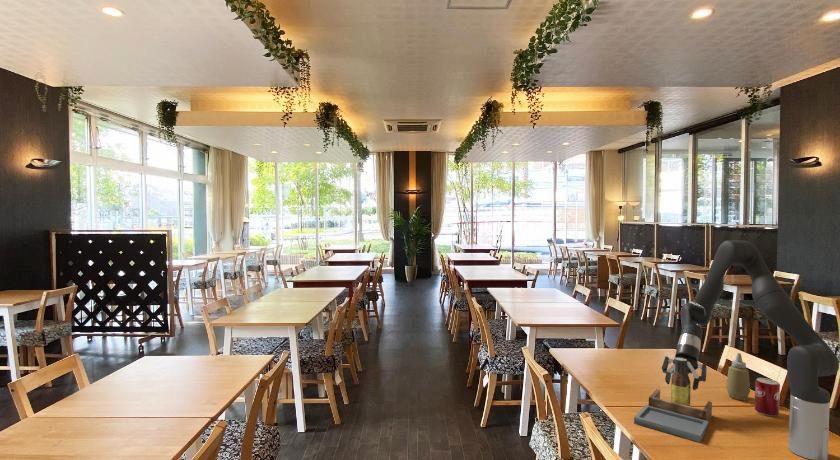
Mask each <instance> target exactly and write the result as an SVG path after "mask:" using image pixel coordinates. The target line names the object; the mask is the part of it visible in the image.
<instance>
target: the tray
mask: <svg viewBox="0 0 840 460" xmlns="http://www.w3.org/2000/svg"><path fill="white" fill-rule="evenodd" d="M633 424H635V425H639V426H643V427H646V428H649V429H653V430H655V431H656V430H657V431H660V432H663V433H667V434H669V433H670V435H673V436H675V437H680V438H683V439H687V440H690V441H693V442H697V443H701V442H702V440H703V438H704V436H705V435H706V432H707V430H708V429H709V421H705V420H701V419H698V418H694V417H690V416H686V415H682V414H678V413H675V412H671V411H667V410H663V409H659V408H656V407H652V406H649V404H648V405H647V404H645V405H644V406H643V407H642V408H641V409H640V410H639V412H637V414H636V415H634V416H633Z"/></svg>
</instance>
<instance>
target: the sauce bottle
mask: <svg viewBox="0 0 840 460" xmlns="http://www.w3.org/2000/svg"><path fill="white" fill-rule="evenodd" d="M674 358H675V357H674ZM670 382H671V383H670V402H674V403H678V404H682V405H686V406H690V407H691V385H692V383H691V379H690V377H689V374H688V373H687V359H684V358H675V372H674V373H673V374H672V375H671V379H670Z"/></svg>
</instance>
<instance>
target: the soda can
mask: <svg viewBox="0 0 840 460" xmlns="http://www.w3.org/2000/svg"><path fill="white" fill-rule="evenodd" d="M754 382H755V383H754V384H755V385H754V387H755V389H754V410H755V412H756V413H758V414H759V415H763V416H767V417H777V416H779V415H780V397H781V395H780V394H781V384H780V382H779V381H777V380H774V379H771V378H765V377H757V378H756V379H755V381H754Z"/></svg>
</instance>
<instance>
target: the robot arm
mask: <svg viewBox="0 0 840 460" xmlns="http://www.w3.org/2000/svg"><path fill="white" fill-rule="evenodd" d="M716 250H717V251H716V253H715V255H714V258H713V261H712V263H711V264H710V268H709V271H708V273H707V276H706V278H705V280H704V282H703V283H702V285H701V287H700V288H699V290H698V291H697V292H696V295H695V296H694V300H695V302H696V303H697V304H698V305H696V304H695V303H692V302H686V303H683V305H682V307H681V308H680V319H681V330H680V331H681V332H680V336H679V339H678V343H677V346H676V350H675V351H676V352H675V355H674V358H669V356H664V360H663V362H662V366H661V371H662V374H665V376H664V381H665V383H666V384H667V385H671V383H670V382H671V379H672V374H673V373H674V372H675V358H684V359H687V373H688V375H689V374H690V375H691V376H692V377H693V383H692V390H693V391H696V390H698V389H699V384H700V382H707V372H708V371H707V370H708V368H707V364H706V363H703V364H699V356H700V352H701V345H702V344H701V342H702V338H703V329H702V327H703V326H706V325H708V324H709V323H710V322H711V318H712V313H713V310H714V307H715V305H716V303H717V302H718V300H719V299H720V297H721V295H722V294H723V292H724V288H725V287H724V286H725V285H724V284H725V282H724V278H725V274H726V273H727V272H728V270H729V269H730V268H731V267H732V266H741V267H742V268H743V269H744V270H745V272H746V273H747V274H748V276H749V278H750V279H751V296H752V300H753V301H754V303H755V305H756V306H757V308H758V309H759V310H760V313H762V314H763V316H764V317H765V318H766V319H767V320H768V321H770V322H771V323H772V324H773V325H775V326H776V327H778V328H779V329H781V330H783V332H785V333H786V334H787V335H788V336H790V337H791V338H792V339H793V341H795V342H796V344H797V345H796V346H793V347H791V348H790V349H789V351H788V353H787V358H786V359H787V360H786V365H787V366H786V369H787V370H786V371H787V384H788V387H789V389H790V390H789V391H790V398H789V419H788V423H789V424H788V440H787V441H788V442H787V443H788V445H787V446H788V450H789V451H790V452H791V453H793V454H795V455H797V456H799V457H802V458H805V459H809V460H828V459H829V442H830V441H829V439H830V437H829V436H830V409H831V408H830V407H831V406H830V404H831V394H830V392H829V391H828V390H827V389H825V388H823V387H820V385H819V377H829V376H834V375H836V374H837V373H838V372H839V369H840V363H839V359H838V356H837V355H836V353H835V352H834V351H833V349H832V348H831V346H829V345H828V344H827V343H826V341H824V340H823V338H822V337H821V336H820V334H818V333H817V332H816V330H814V328H813V327H812V326H811V325H810V323H809V322H808V321H807V319H806V318H805V317H804V315H803V314H802V313H801V312H800V310H799V308H798V307H797V306H796V305H795V303H794V301H793V300H792V298H790V296H789V294H788V293H787V291H786V290H785V289H784V288H783V287H782V285H781V284H780V283H779V281H778V280H777V279H776V276H775V275H774V274H773V273H772V272H771V270H770V269H769V267H768V265H767V263H766V262H765V260H764V258H763V256H762V254H761V253H760V251H759V249H758V248H757V247H756V245H755V244H753V243H752V241H748V240H741V239H740V240H739V239H734V240H733V239H730V240H724V241H723V242H722V243H720V245H719V246H718V248H717V249H716ZM671 363H672V365H671ZM669 365H671V366H670V367H669ZM697 369H699V370H700V371H701V374H700V375H699V374H698V373H697V371H696V370H697Z"/></svg>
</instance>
